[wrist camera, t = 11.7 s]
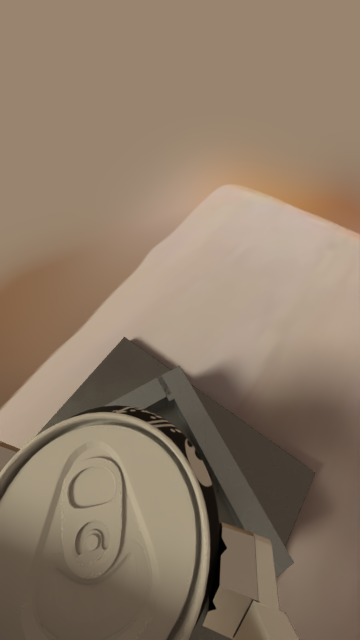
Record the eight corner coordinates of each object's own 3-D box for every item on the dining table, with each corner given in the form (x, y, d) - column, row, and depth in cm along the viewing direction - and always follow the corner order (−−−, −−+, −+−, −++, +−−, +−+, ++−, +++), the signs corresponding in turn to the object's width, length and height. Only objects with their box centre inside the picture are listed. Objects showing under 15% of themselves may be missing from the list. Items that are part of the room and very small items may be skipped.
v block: (184, 765, 15) (188, 899, 11) (-29, 516, 20) (-89, 534, 16) (308, 472, 22) (344, 475, 18) (126, 341, 27) (116, 317, 23)
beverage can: (92, 564, 15) (-111, 823, 4) (92, 439, 18) (-31, 416, 7) (205, 541, 16) (266, 724, 5) (186, 423, 19) (199, 380, 8)
